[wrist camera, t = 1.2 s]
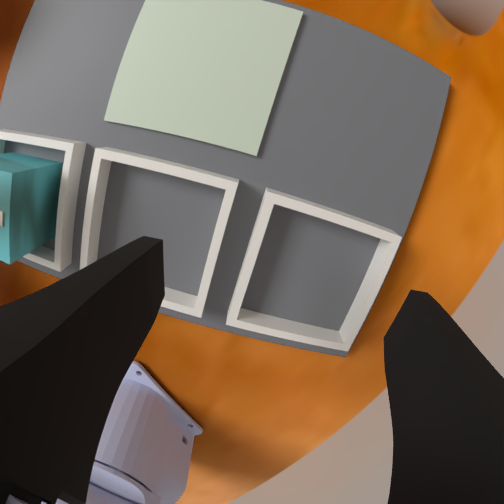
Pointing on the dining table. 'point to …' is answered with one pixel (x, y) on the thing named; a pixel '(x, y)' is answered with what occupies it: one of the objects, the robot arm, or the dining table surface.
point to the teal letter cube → (27, 203)
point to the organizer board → (228, 154)
